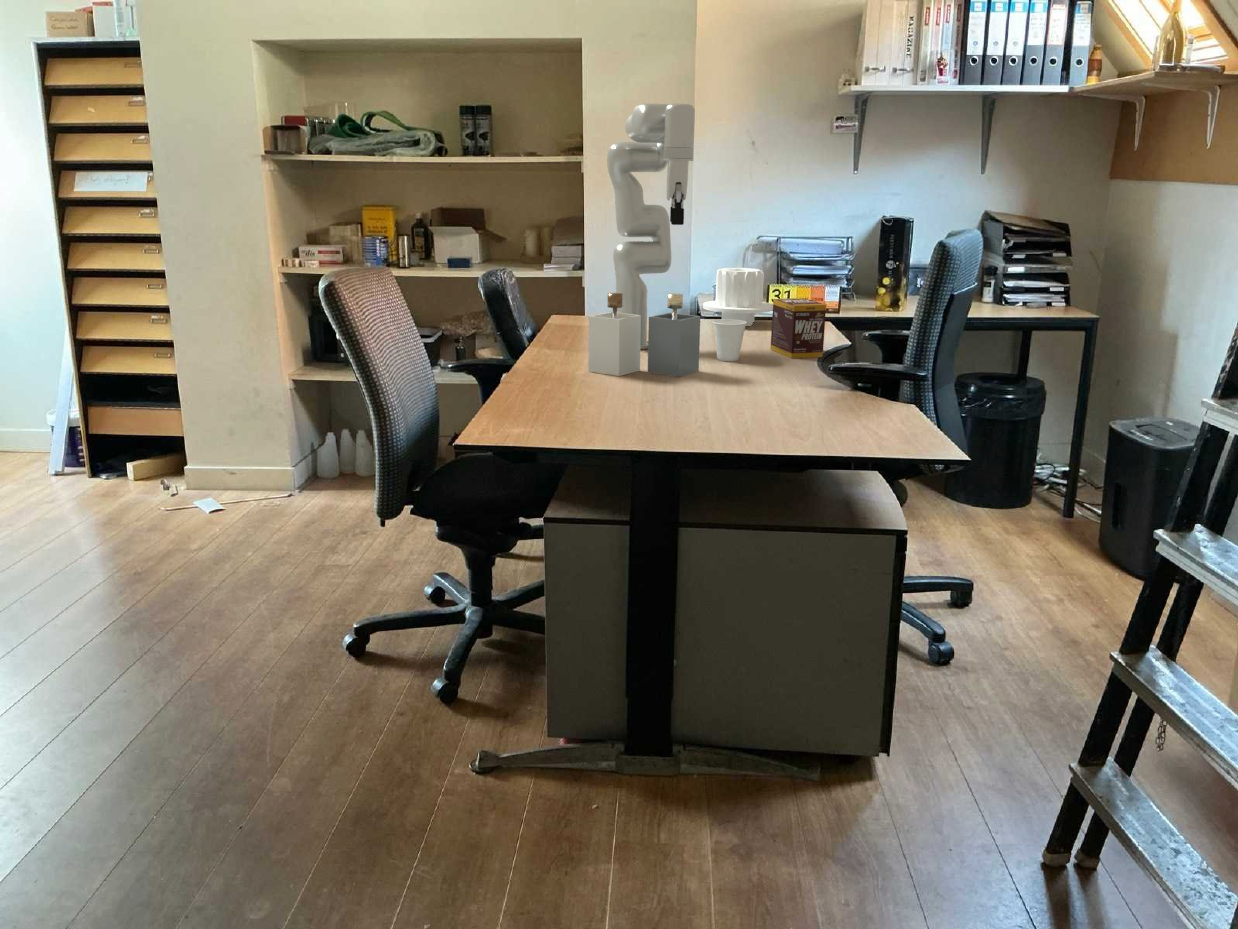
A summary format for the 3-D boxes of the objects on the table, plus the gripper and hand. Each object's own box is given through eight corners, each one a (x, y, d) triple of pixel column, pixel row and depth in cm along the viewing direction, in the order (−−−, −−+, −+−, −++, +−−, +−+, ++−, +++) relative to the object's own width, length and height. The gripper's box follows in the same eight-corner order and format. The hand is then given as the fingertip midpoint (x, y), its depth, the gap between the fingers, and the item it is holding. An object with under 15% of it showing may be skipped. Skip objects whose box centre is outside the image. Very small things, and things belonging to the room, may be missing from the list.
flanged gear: (695, 327, 355) (697, 271, 350) (710, 317, 378) (712, 265, 373) (767, 331, 348) (770, 274, 343) (778, 320, 371) (781, 267, 366)
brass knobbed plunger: (652, 367, 278) (654, 294, 273) (668, 362, 285) (670, 291, 279) (678, 370, 274) (680, 297, 268) (693, 366, 280) (696, 294, 275)
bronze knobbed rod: (593, 366, 278) (594, 293, 273) (611, 361, 285) (611, 291, 279) (617, 369, 274) (618, 296, 269) (634, 365, 280) (636, 293, 275)
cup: (743, 363, 292) (745, 324, 289) (708, 361, 294) (710, 323, 291) (746, 357, 301) (748, 319, 298) (712, 355, 303) (714, 318, 300)
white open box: (588, 371, 279) (588, 316, 274) (610, 365, 286) (610, 311, 282) (618, 376, 273) (619, 319, 269) (639, 370, 281) (640, 315, 277)
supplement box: (791, 358, 300) (794, 305, 296) (769, 349, 315) (772, 298, 310) (823, 357, 303) (827, 304, 299) (801, 348, 317) (804, 297, 313)
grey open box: (647, 372, 278) (648, 316, 274) (667, 366, 286) (669, 312, 282) (679, 377, 273) (680, 320, 269) (698, 371, 281) (700, 316, 276)
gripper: (663, 154, 272) (661, 221, 277) (664, 154, 256) (662, 225, 261) (691, 154, 272) (689, 221, 277) (695, 155, 255) (692, 225, 260)
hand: (676, 223), depth 269 cm, fingers open, 9 cm apart
